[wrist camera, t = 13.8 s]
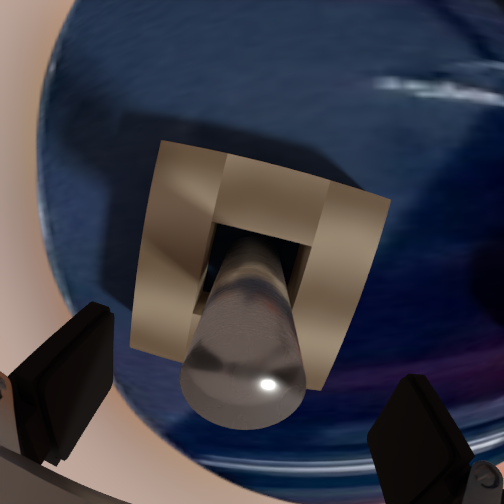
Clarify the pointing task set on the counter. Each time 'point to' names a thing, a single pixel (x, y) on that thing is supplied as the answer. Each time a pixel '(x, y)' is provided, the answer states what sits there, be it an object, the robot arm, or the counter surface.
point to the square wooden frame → (261, 221)
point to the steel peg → (245, 344)
